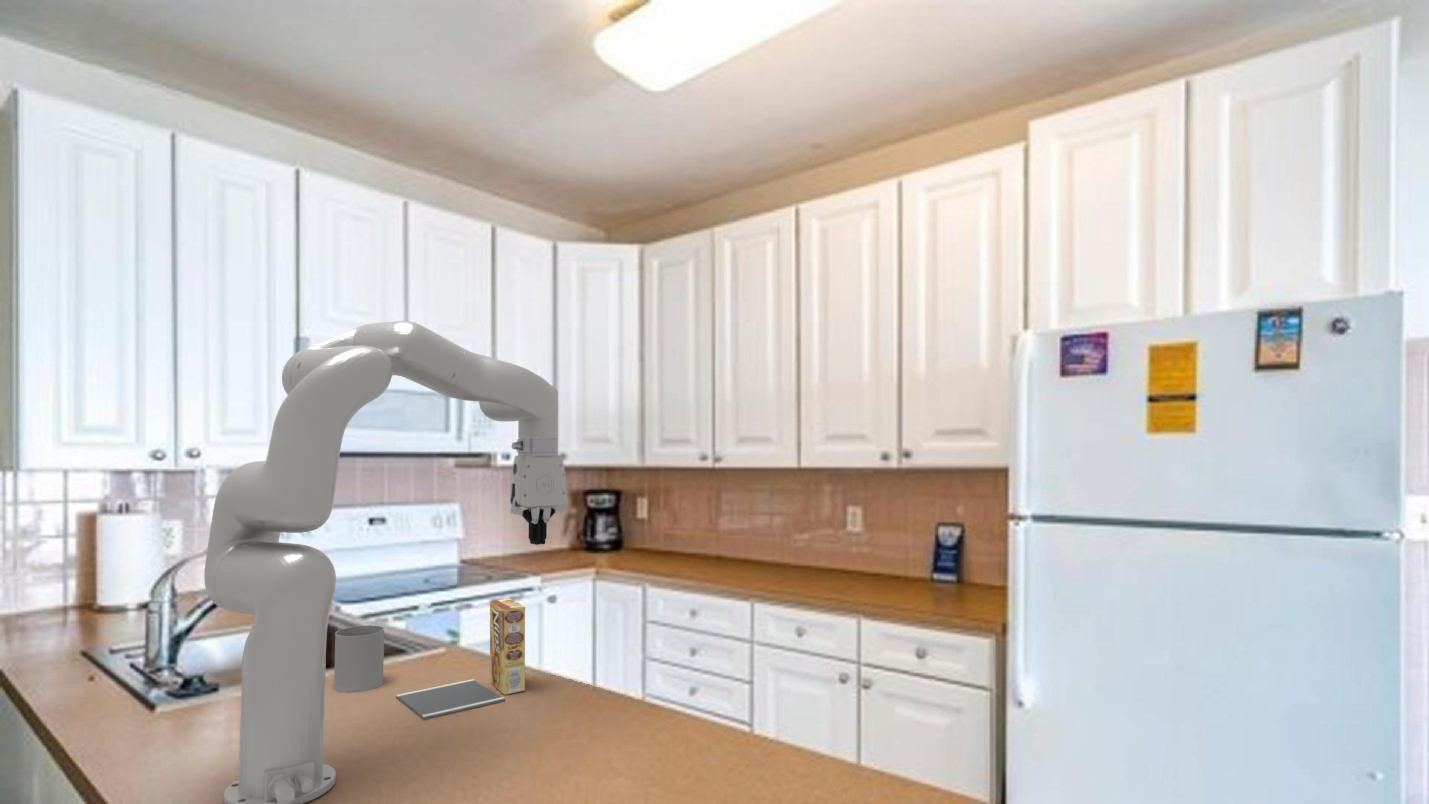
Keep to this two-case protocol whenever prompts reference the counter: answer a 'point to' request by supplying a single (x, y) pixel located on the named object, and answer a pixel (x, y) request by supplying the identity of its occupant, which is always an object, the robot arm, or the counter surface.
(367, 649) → the cup
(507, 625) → the candy box
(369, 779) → the counter surface
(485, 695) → the mat
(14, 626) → the counter surface
